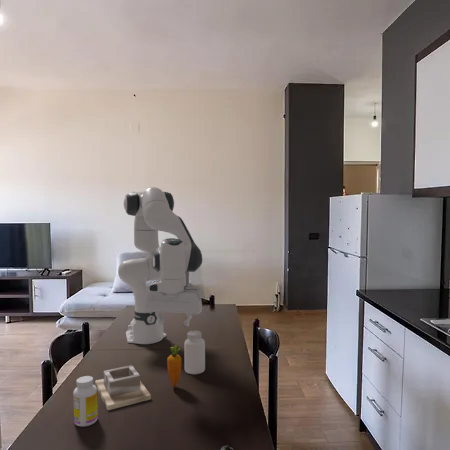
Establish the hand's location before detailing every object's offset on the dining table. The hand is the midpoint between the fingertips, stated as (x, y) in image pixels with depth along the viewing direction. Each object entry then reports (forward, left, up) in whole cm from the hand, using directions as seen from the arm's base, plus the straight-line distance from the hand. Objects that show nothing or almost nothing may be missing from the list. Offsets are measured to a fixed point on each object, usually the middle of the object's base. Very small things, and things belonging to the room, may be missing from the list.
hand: (173, 324), depth 136 cm
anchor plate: (-6, -17, -22) cm, 29 cm away
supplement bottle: (+7, -31, -23) cm, 39 cm away
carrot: (0, 0, -23) cm, 23 cm away
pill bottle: (-9, +12, -23) cm, 27 cm away
